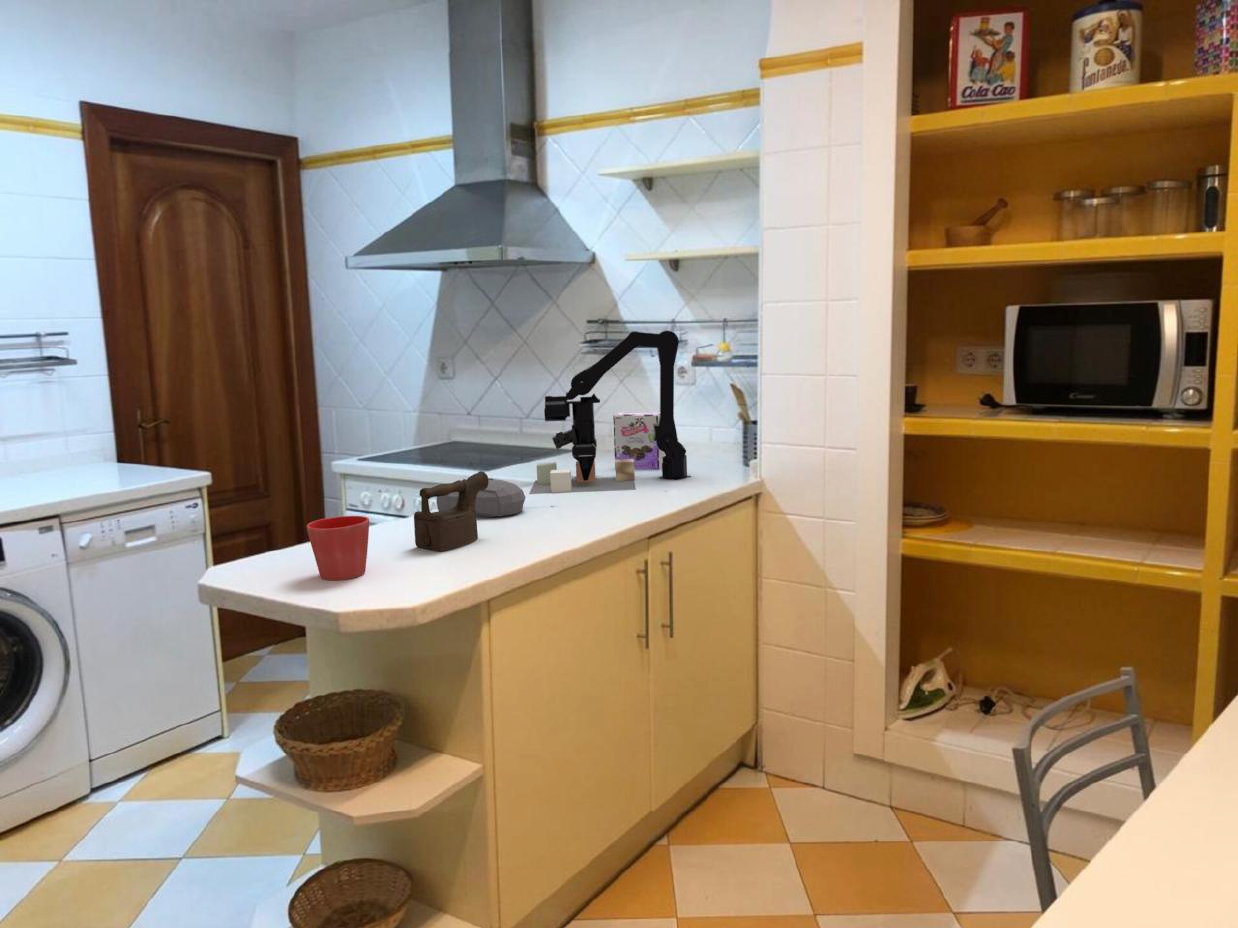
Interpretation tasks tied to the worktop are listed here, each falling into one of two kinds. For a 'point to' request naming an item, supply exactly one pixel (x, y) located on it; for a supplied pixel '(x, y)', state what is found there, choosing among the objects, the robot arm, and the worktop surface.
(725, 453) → the worktop surface
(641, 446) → the candy box
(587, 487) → the slate mat
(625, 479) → the beech block
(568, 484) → the taupe block
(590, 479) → the terracotta block
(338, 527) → the flower pot
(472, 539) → the clothes iron
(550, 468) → the sage block
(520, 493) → the soft grey pack
